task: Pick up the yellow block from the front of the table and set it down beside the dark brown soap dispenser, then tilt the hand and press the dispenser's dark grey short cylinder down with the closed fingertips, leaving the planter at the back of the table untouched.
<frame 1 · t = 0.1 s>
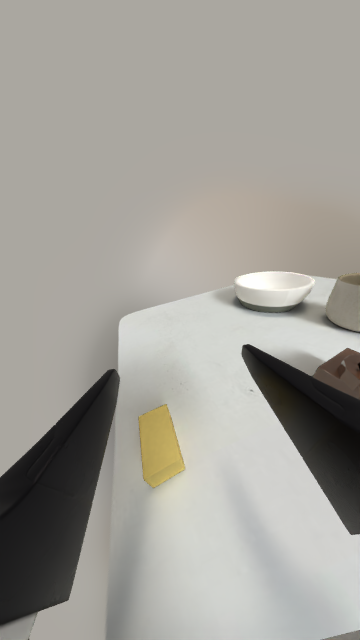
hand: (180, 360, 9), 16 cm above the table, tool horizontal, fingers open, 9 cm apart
planter: (354, 324, 33), on the table
yellow block: (163, 446, 18), on the table
bowl: (265, 302, 49), on the table
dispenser: (355, 395, 20), on the table
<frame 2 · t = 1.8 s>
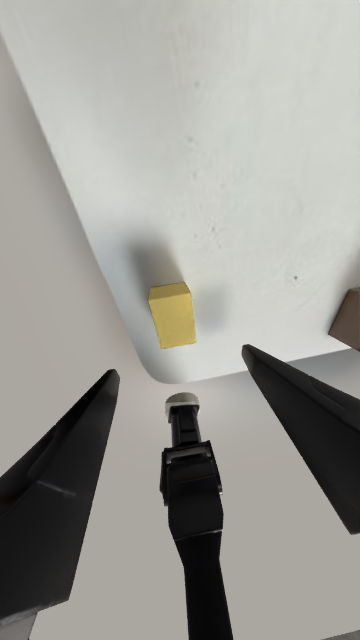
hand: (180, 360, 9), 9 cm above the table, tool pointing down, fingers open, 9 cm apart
yellow block: (172, 307, 17), on the table
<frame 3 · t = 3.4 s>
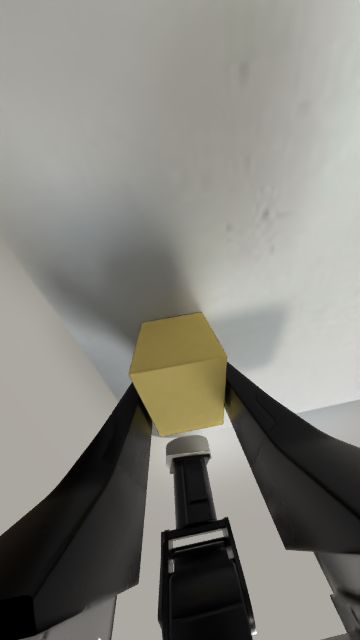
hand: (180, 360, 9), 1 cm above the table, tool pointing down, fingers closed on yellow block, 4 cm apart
yellow block: (178, 350, 10), on the table, touching gripper
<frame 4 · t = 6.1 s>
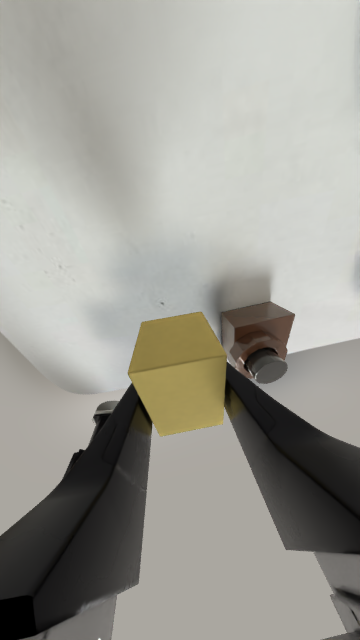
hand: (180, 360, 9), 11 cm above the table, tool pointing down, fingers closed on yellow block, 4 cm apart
yellow block: (178, 350, 10), point 10 cm above the table, touching gripper
dark grey short cylinder: (264, 365, 17), point 7 cm above the table, slide at 0.1 cm
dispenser: (244, 327, 23), on the table
when the fingers open (1 cm above the table, at t = 9.1 s): yellow block stays where it is, on the table.
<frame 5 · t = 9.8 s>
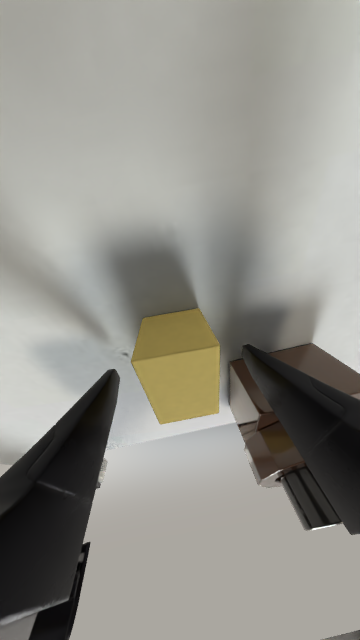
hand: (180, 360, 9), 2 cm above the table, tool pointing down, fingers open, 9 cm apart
yellow block: (177, 345, 11), on the table
dark grey short cylinder: (319, 489, 8), point 7 cm above the table, slide at 0.1 cm
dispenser: (265, 378, 14), on the table
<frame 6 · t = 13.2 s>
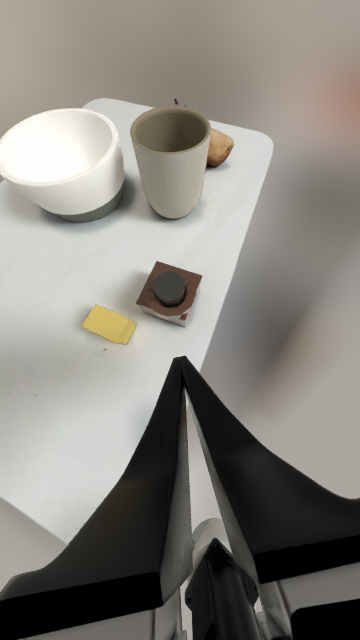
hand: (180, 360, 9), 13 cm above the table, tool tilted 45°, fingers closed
planter: (174, 206, 31), on the table
yellow block: (117, 327, 24), on the table
vegetable: (199, 159, 35), on the table
dark grey short cylinder: (170, 289, 17), point 7 cm above the table, slide at 0.1 cm
bowl: (88, 196, 32), on the table
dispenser: (172, 300, 25), on the table
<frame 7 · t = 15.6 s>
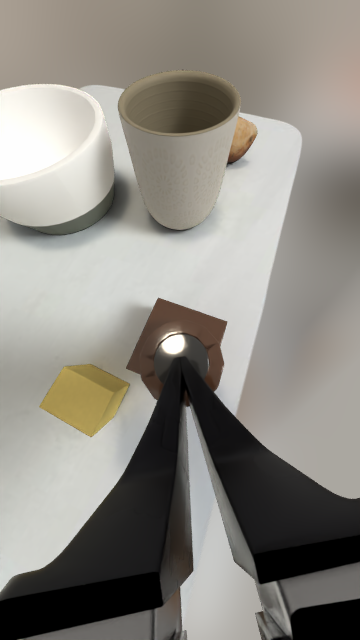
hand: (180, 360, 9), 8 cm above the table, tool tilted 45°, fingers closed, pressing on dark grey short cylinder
planter: (180, 213, 24), on the table
yellow block: (101, 389, 16), on the table
vegetable: (210, 154, 28), on the table
dark grey short cylinder: (181, 360, 11), point 7 cm above the table, slide at -0.3 cm, touching gripper
bowl: (70, 200, 25), on the table
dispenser: (179, 346, 18), on the table
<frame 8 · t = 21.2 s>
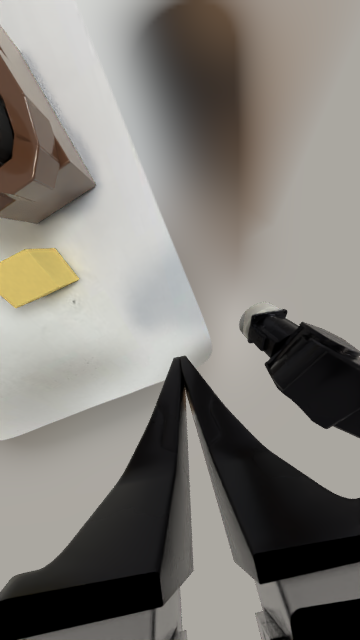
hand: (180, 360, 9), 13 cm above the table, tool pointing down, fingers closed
yellow block: (48, 274, 17), on the table
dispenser: (29, 154, 12), on the table
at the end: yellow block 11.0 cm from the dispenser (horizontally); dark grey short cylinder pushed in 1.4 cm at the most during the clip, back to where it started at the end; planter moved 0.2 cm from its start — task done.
